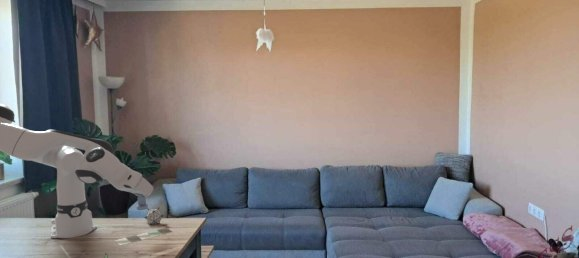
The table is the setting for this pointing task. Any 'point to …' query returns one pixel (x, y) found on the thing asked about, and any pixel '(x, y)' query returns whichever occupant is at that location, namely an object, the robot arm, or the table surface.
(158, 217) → the game die
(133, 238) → the track
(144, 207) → the pawn
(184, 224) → the table surface
